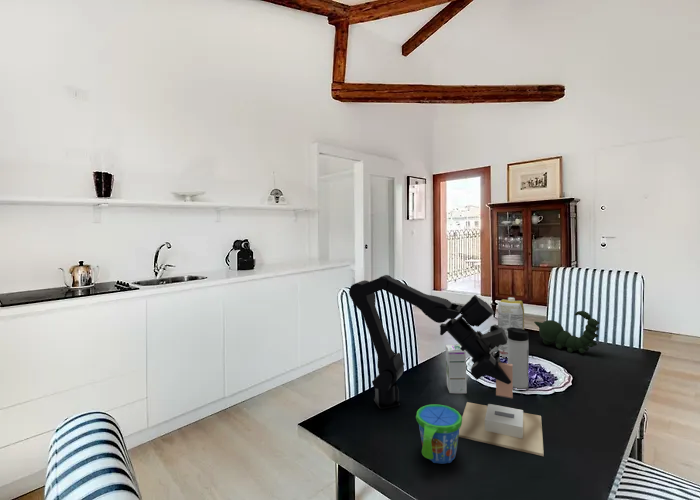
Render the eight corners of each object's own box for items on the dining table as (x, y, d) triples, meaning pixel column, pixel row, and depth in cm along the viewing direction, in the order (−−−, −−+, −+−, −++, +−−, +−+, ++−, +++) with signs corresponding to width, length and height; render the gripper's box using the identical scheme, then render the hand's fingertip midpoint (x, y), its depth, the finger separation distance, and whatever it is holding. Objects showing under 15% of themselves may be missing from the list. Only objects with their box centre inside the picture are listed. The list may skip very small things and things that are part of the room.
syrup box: (467, 393, 115) (466, 350, 114) (448, 393, 116) (447, 350, 115) (463, 385, 121) (462, 344, 120) (445, 385, 121) (445, 344, 120)
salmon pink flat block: (495, 395, 96) (495, 363, 95) (496, 393, 97) (496, 361, 96) (512, 398, 94) (512, 365, 93) (512, 396, 95) (512, 364, 94)
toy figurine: (598, 357, 145) (538, 337, 165) (604, 313, 142) (542, 297, 162) (587, 363, 139) (526, 341, 160) (593, 317, 137) (530, 300, 157)
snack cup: (434, 432, 95) (433, 395, 94) (473, 447, 88) (472, 407, 87) (403, 463, 83) (402, 421, 82) (445, 483, 76) (444, 438, 76)
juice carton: (524, 354, 146) (524, 297, 144) (522, 361, 139) (522, 301, 138) (500, 351, 151) (500, 295, 149) (497, 357, 144) (496, 299, 143)
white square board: (484, 430, 94) (484, 419, 94) (488, 413, 102) (488, 403, 102) (522, 438, 90) (522, 426, 90) (523, 420, 98) (523, 409, 98)
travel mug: (503, 383, 121) (502, 326, 120) (521, 382, 122) (521, 325, 120) (513, 392, 115) (512, 331, 114) (532, 390, 116) (532, 330, 114)
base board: (456, 436, 93) (456, 434, 93) (467, 403, 109) (467, 402, 109) (543, 456, 84) (543, 453, 84) (541, 417, 100) (541, 415, 100)
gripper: (484, 328, 87) (534, 379, 83) (491, 310, 104) (533, 352, 100) (452, 354, 91) (498, 404, 87) (463, 333, 108) (503, 374, 104)
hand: (509, 381), depth 94 cm, fingers closed on salmon pink flat block
